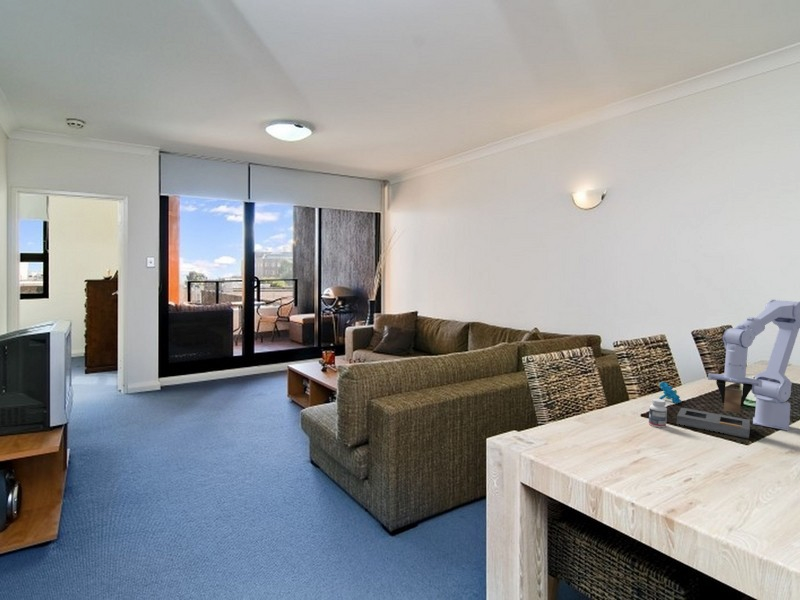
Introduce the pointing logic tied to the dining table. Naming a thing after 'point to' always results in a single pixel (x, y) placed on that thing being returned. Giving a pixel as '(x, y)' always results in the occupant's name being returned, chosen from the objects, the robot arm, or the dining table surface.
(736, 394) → the walnut block
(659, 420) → the pill bottle
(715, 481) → the dining table surface
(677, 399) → the gear
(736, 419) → the rail block
